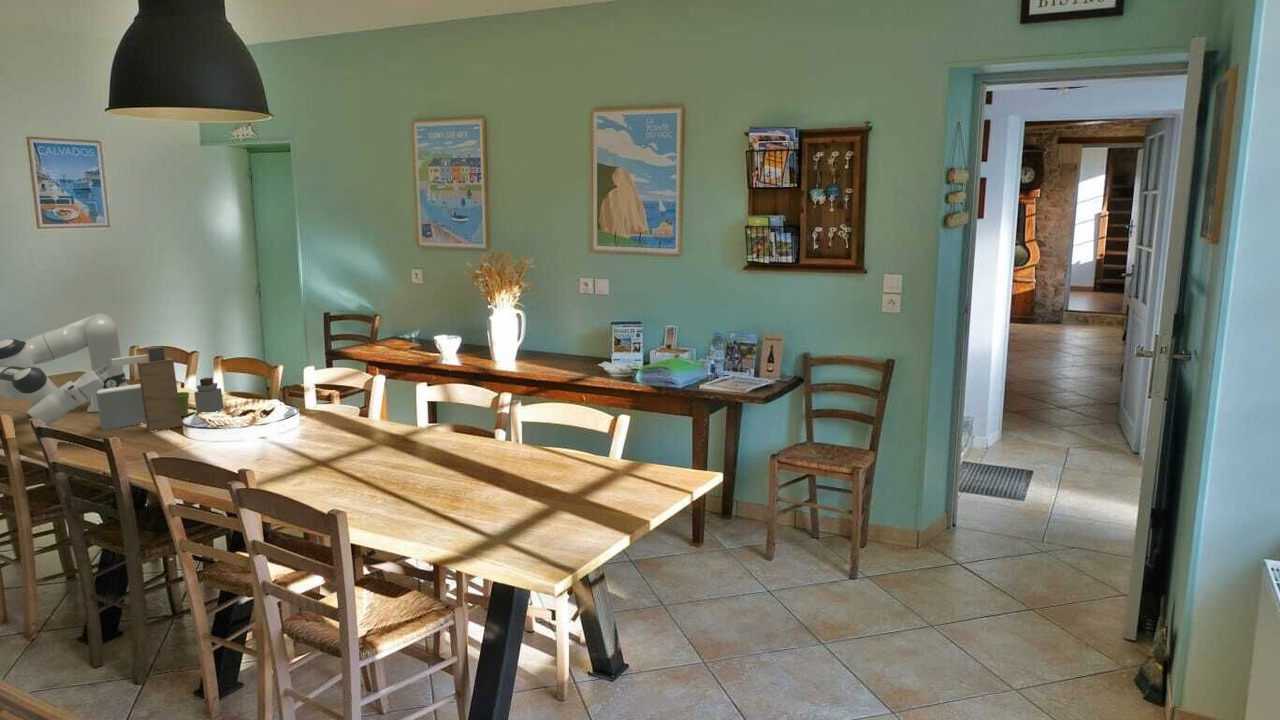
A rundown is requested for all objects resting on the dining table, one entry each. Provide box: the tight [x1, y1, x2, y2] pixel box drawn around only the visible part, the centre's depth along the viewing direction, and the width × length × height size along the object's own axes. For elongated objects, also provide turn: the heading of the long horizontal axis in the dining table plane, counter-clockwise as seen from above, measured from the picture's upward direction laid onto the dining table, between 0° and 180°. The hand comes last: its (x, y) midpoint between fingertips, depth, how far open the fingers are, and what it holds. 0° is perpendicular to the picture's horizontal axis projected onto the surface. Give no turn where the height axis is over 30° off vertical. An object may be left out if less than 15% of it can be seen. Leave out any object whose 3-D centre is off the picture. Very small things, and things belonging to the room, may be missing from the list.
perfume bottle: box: [193, 377, 224, 416], centre depth 349 cm, size 7×7×18 cm
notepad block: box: [96, 383, 146, 432], centre depth 354 cm, size 7×16×14 cm, turn 126°
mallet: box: [111, 345, 166, 366], centre depth 341 cm, size 17×5×5 cm, turn 126°
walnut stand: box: [136, 356, 183, 432], centre depth 347 cm, size 8×11×26 cm
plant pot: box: [178, 391, 191, 417], centre depth 366 cm, size 9×9×9 cm
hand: (110, 368), depth 336 cm, fingers open, 8 cm apart
